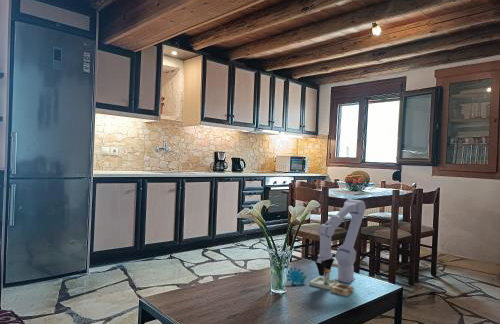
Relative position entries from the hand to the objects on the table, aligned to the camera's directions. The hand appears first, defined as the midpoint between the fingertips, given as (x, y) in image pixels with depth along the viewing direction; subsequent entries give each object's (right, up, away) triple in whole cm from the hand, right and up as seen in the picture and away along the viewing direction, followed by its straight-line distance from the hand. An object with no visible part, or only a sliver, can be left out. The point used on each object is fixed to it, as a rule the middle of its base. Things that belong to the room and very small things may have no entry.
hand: (324, 273), depth 182 cm
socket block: (+7, -6, -9) cm, 13 cm away
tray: (0, -6, 0) cm, 6 cm away
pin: (+1, -5, -1) cm, 5 cm away
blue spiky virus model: (-15, -6, 0) cm, 16 cm away
